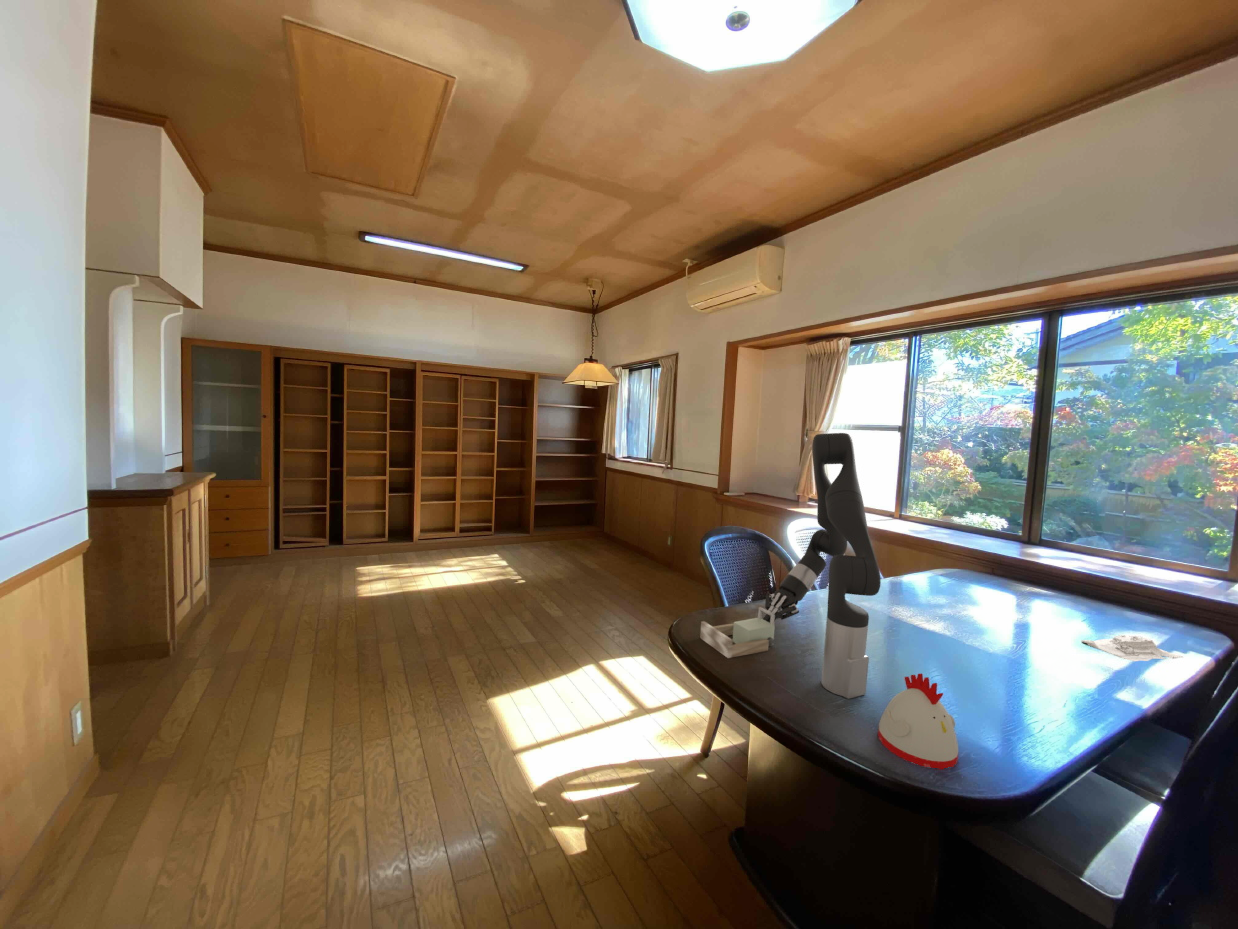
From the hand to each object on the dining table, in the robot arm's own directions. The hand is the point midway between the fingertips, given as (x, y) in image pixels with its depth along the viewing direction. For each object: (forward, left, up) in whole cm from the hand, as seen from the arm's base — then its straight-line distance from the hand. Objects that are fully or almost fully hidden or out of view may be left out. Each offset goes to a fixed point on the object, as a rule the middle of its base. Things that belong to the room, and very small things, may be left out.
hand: (764, 625), depth 148 cm
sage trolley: (-2, +5, -4) cm, 7 cm away
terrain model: (-44, -109, -5) cm, 118 cm away
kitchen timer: (-51, +5, -5) cm, 52 cm away
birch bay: (0, +11, -4) cm, 12 cm away
